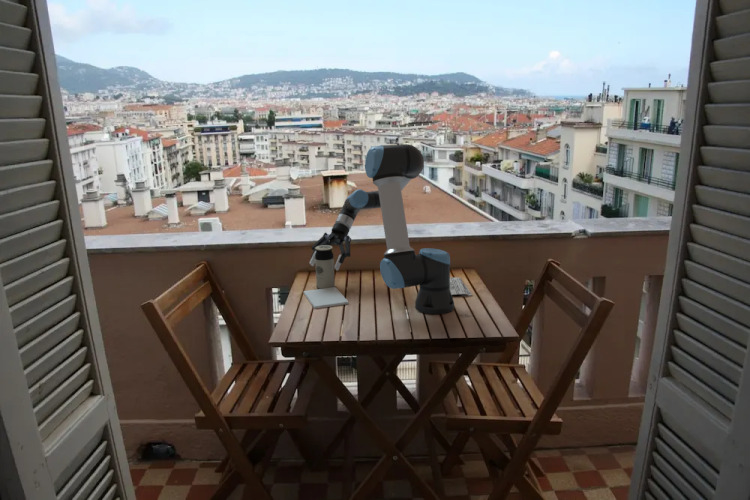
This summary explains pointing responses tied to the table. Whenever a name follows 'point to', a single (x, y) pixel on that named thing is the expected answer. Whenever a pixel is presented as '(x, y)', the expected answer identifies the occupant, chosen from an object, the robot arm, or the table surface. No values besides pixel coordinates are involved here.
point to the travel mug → (324, 267)
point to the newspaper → (458, 287)
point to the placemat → (325, 297)
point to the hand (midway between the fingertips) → (323, 266)
